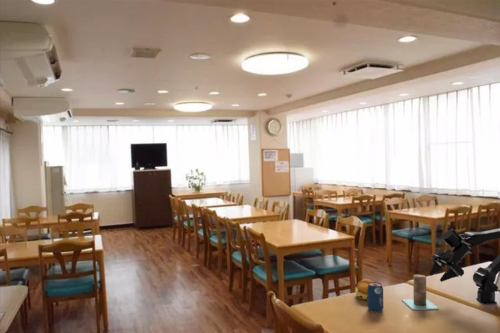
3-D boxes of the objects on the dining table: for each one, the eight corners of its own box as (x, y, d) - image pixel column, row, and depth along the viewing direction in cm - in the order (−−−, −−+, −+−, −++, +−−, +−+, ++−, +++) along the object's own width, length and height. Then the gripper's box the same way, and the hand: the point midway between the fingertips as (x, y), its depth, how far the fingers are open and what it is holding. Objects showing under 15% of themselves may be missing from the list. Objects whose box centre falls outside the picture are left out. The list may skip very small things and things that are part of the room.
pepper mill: (426, 302, 187) (426, 275, 187) (426, 306, 182) (426, 278, 182) (413, 300, 189) (413, 274, 189) (413, 305, 184) (413, 277, 184)
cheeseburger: (373, 293, 202) (375, 276, 199) (378, 306, 192) (379, 288, 189) (353, 292, 203) (354, 275, 200) (357, 305, 193) (358, 287, 190)
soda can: (384, 313, 177) (384, 286, 177) (368, 312, 178) (368, 286, 178) (382, 307, 184) (382, 281, 183) (366, 306, 185) (366, 281, 185)
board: (426, 299, 192) (426, 298, 192) (438, 309, 180) (438, 308, 180) (402, 300, 192) (402, 299, 192) (412, 310, 180) (412, 308, 180)
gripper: (434, 238, 195) (413, 261, 194) (457, 246, 176) (434, 272, 176) (449, 253, 196) (428, 276, 195) (474, 263, 177) (451, 288, 177)
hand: (434, 277), depth 186 cm, fingers open, 9 cm apart
